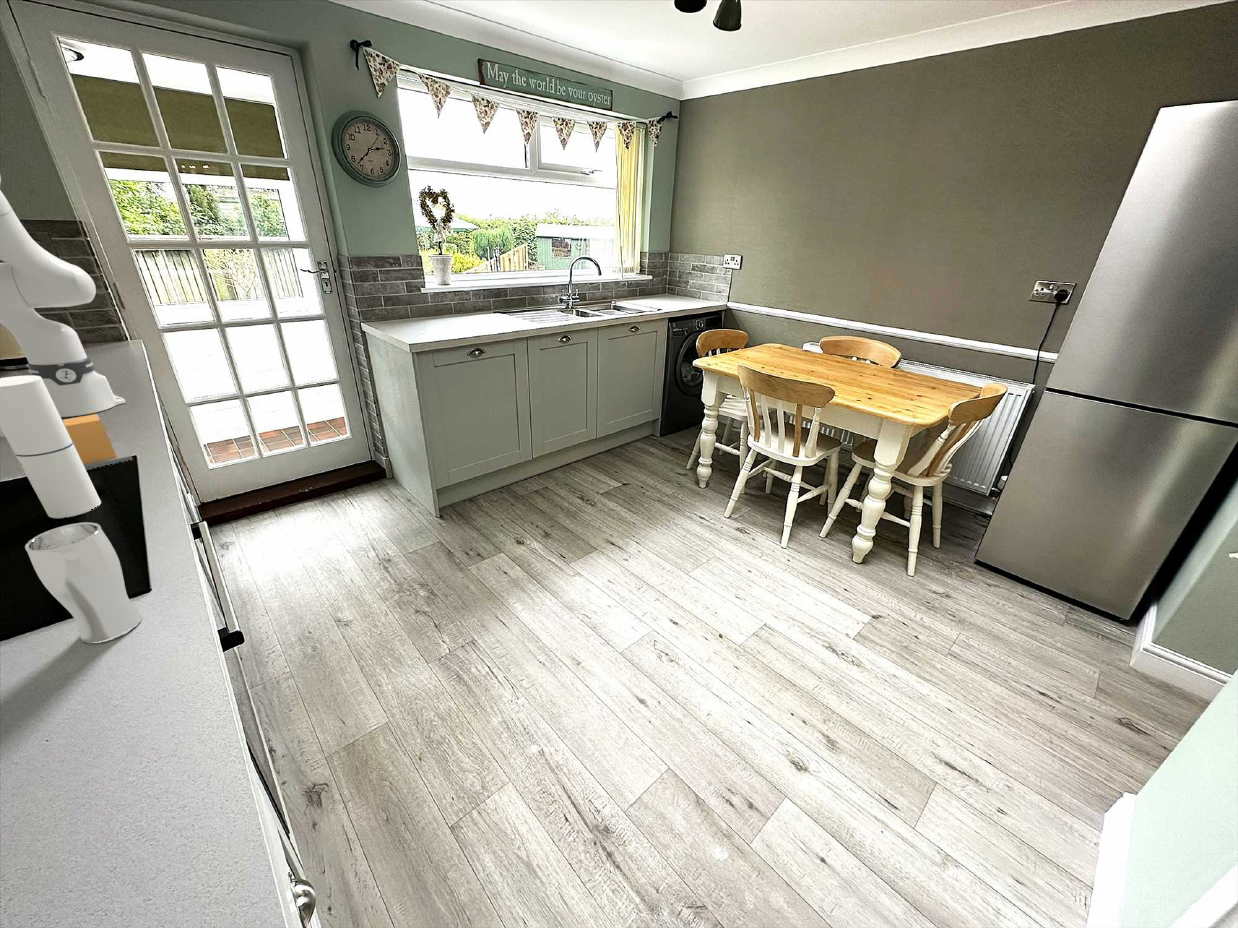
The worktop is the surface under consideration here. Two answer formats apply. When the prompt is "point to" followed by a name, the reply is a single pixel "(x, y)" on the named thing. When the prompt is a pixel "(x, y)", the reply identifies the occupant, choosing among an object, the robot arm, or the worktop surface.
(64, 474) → the cylindrical container
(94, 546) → the beer glass
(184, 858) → the worktop surface
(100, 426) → the orange rectangular block
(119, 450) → the plate
